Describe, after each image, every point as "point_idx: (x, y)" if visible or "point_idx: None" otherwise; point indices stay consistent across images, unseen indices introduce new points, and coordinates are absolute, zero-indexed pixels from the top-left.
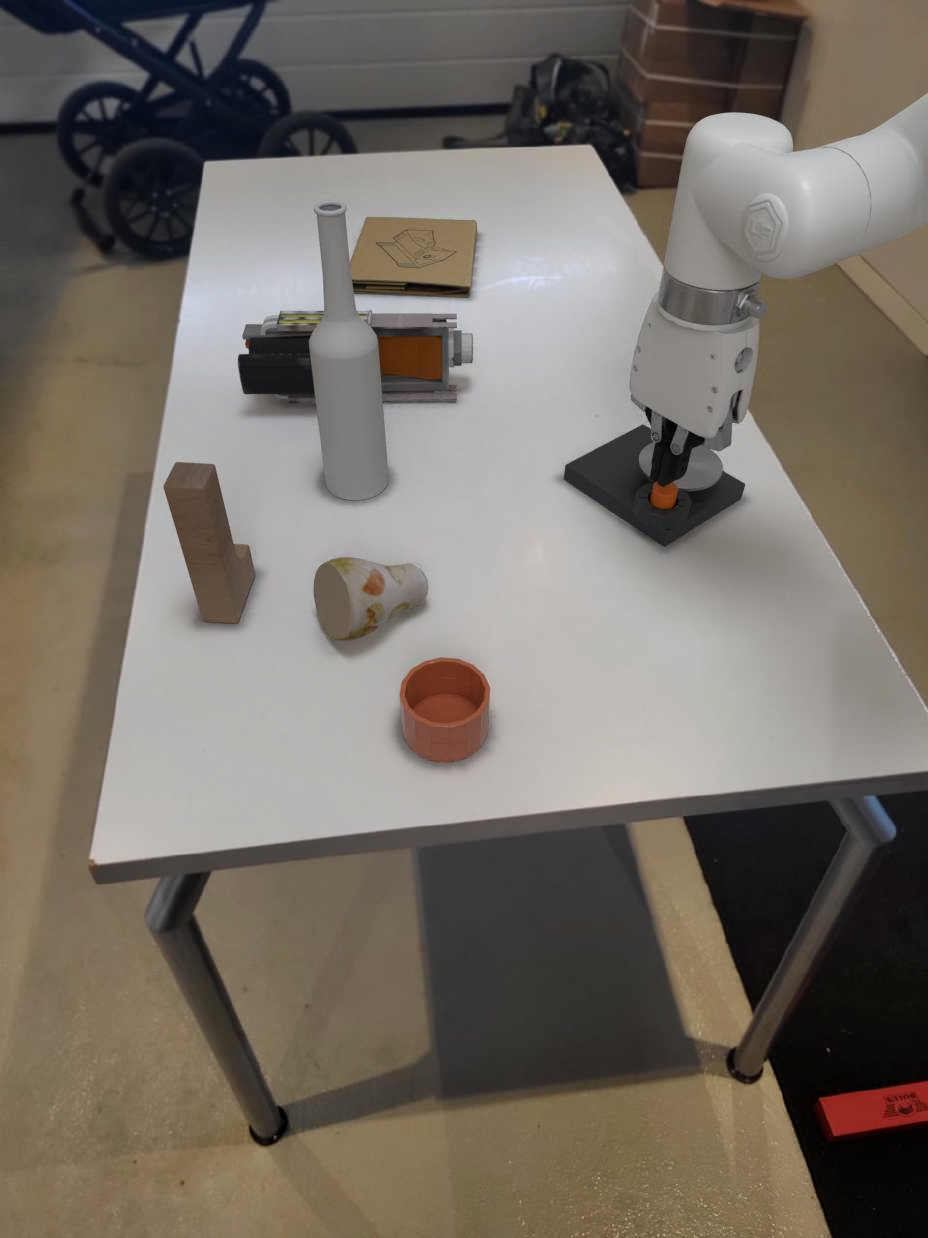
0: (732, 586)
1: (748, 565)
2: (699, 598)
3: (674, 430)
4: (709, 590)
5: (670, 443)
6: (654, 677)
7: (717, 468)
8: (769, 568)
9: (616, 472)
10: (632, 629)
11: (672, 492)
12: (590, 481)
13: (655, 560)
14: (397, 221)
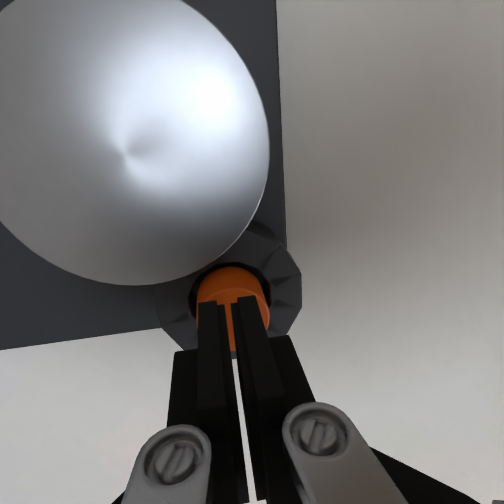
0: (432, 255)
1: (424, 186)
2: (408, 320)
3: (218, 495)
4: (409, 294)
5: (236, 466)
6: (448, 447)
7: (221, 64)
8: (459, 155)
9: (31, 273)
10: (377, 429)
11: (263, 320)
12: (38, 344)
13: (296, 323)
14: None
